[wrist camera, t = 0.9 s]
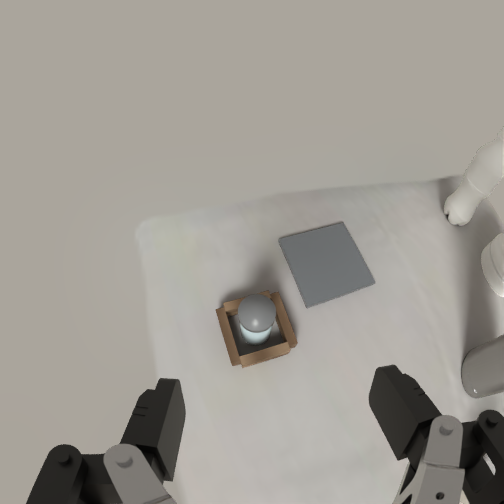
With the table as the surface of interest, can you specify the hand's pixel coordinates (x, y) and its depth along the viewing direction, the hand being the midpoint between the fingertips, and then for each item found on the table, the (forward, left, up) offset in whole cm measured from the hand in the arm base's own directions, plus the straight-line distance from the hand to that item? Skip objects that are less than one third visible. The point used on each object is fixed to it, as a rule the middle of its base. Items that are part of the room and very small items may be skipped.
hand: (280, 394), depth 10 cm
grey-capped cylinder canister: (-3, -10, -27) cm, 28 cm away
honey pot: (-56, -2, -27) cm, 62 cm away
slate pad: (-17, -17, -27) cm, 35 cm away
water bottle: (-51, -18, -27) cm, 60 cm away
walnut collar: (-3, -10, -27) cm, 28 cm away
